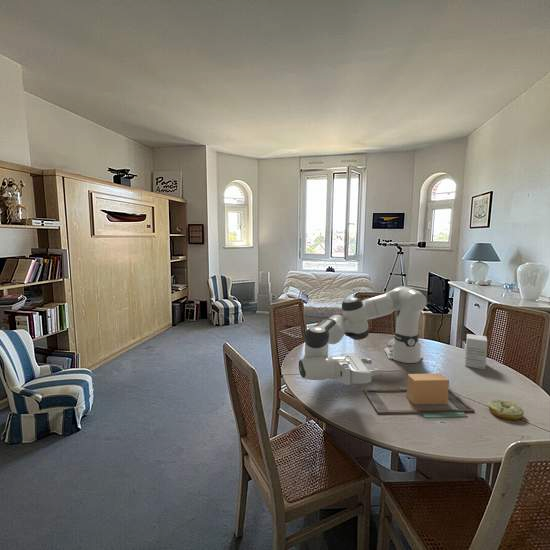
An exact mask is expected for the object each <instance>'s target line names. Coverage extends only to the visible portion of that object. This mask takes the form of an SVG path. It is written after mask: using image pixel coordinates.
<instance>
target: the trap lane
mask: <svg viewBox="0 0 550 550" xmlns="http://www.w3.org/2000/svg"><path fill="white" fill-rule="evenodd" d="M404 391H407V385H406V386H405V385H404V386H398V388H365V389H363V393H364V394H365V396H366V397H367V399H368V401H369V402H370V404H371V405H372V407H373V409H374V411H375V412H376V413H377V415H403V414H406V415H408V414H421V415H422V416H423V417H424V418H425V419H426V418H427V419H432V418H433V419H435V418H437V419H438V418H468V417H469V416H468V415H467V413H475V411H476V410H475V409H474V408H472V406H471V405H469V404H468V403H466V402H465V401H464V400H463V399H462V398H461V397H460V396H458V395H457V394H456V393H455V392H454V391H452V390H451V389H450V388H449V390H448V402H449V401H450V403H452V404H453V406H455V407H456V408H457V409H456V408H455V409H453V408H452V409H450V408H449V409H402V410H400V409H399V410H398V409H396V410H395V409H394V410H389V408H388V407H387V406H386V404H385V402H384V401H383V400H382V399H381V396H379V394H378V393H388V392H389V393H392V392H393V393H397V392H398V393H400V392H401V393H403V392H404ZM404 393H405V392H404Z"/></svg>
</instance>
